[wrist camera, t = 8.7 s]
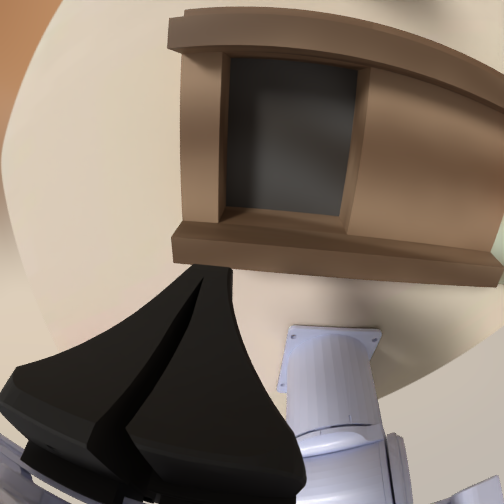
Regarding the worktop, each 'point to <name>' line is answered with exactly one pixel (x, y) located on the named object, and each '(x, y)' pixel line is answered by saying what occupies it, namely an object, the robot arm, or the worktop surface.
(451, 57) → the chute
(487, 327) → the worktop surface
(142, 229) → the worktop surface
